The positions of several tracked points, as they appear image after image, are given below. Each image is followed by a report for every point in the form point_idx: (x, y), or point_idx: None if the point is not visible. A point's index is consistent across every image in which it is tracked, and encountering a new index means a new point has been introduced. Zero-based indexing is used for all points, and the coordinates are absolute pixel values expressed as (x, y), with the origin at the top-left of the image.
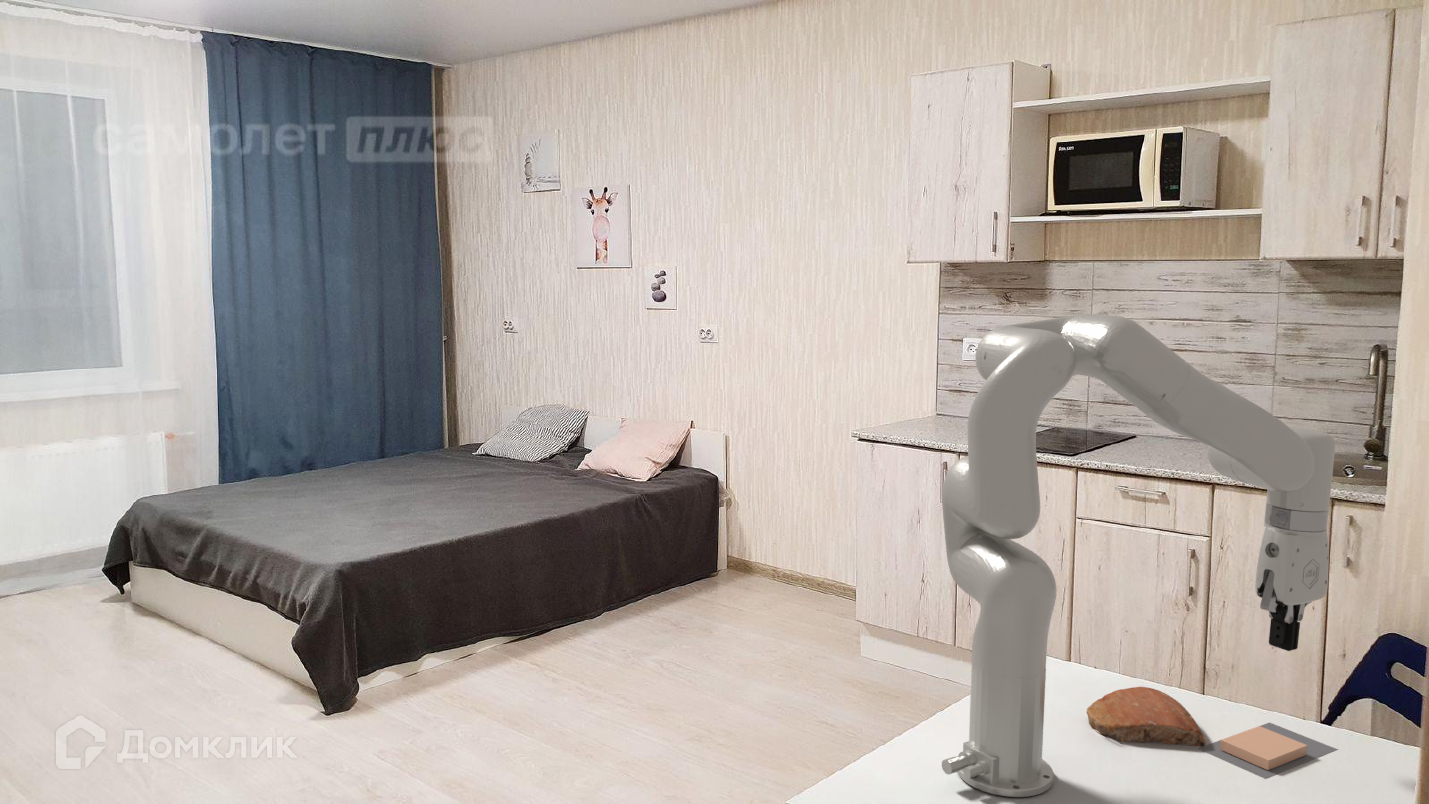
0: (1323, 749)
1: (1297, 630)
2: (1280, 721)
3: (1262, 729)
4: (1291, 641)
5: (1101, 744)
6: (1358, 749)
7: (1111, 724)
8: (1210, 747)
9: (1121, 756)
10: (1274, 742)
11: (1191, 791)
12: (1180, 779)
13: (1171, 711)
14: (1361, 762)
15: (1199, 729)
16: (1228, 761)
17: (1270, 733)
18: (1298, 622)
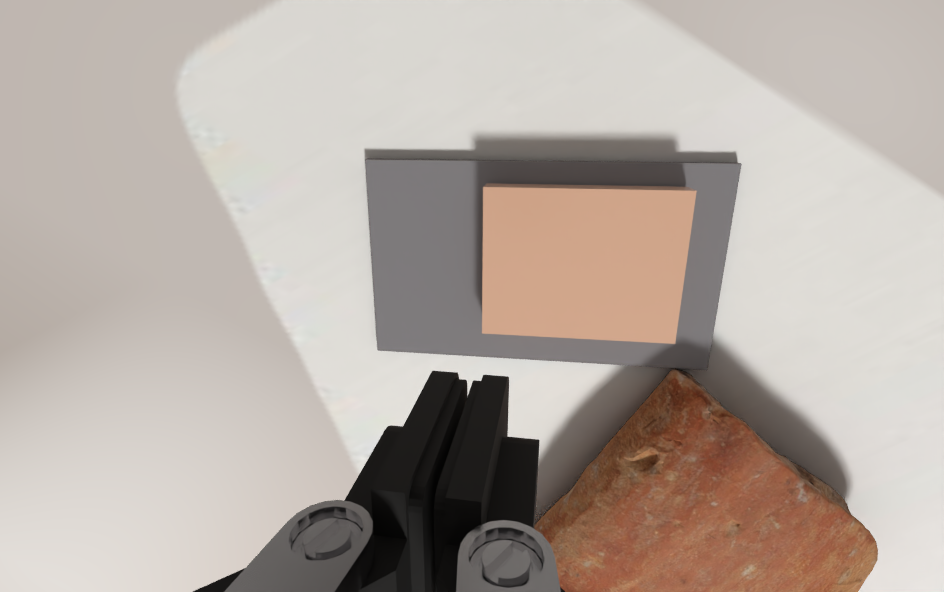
0: (403, 180)
1: (419, 446)
2: (332, 343)
3: (497, 316)
4: (501, 408)
5: (879, 515)
6: (297, 137)
7: (872, 549)
8: (669, 354)
9: (911, 455)
10: (551, 251)
11: None
12: (929, 299)
13: (703, 496)
14: (367, 84)
15: (677, 406)
16: (718, 281)
17: (501, 290)
18: (387, 496)
